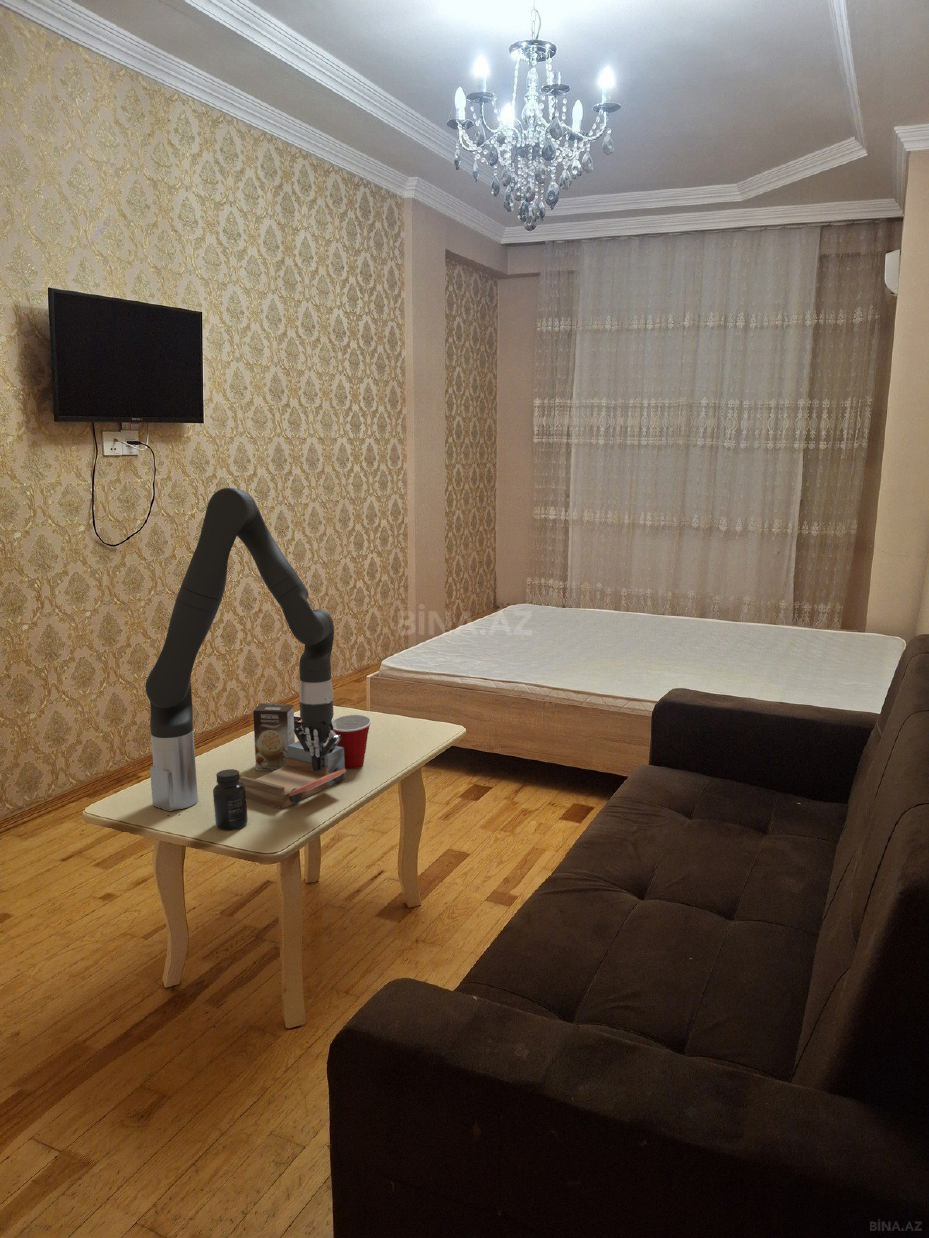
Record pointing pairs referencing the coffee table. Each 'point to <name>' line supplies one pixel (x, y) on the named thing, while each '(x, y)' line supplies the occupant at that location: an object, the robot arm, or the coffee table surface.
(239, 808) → the supplement bottle
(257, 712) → the coffee box
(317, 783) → the panel
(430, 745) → the coffee table surface
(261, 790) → the wooden tray with block
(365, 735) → the plastic cup
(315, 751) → the robot arm
